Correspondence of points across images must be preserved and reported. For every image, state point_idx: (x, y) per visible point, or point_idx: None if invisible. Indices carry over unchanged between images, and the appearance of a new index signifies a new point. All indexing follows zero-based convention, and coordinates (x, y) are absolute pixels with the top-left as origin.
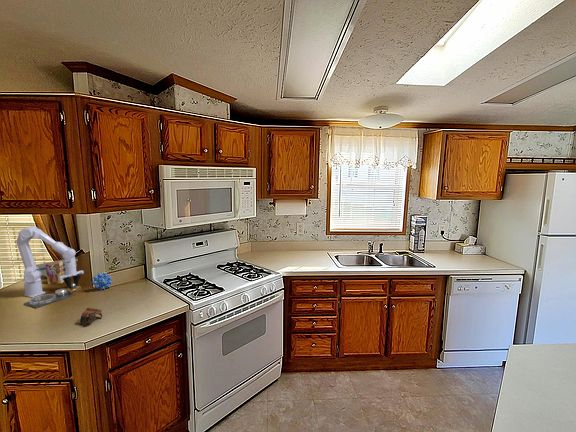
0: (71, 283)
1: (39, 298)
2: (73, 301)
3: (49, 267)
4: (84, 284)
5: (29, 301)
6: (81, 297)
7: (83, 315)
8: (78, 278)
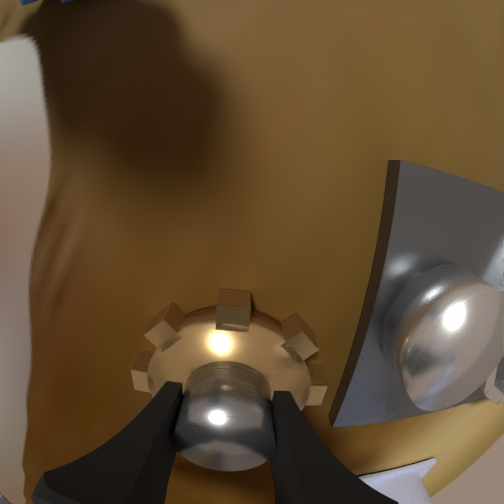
0: (222, 461)
1: (499, 382)
2: (475, 23)
3: None
4: (68, 390)
5: None
6: (389, 3)
7: None
8: (105, 469)
